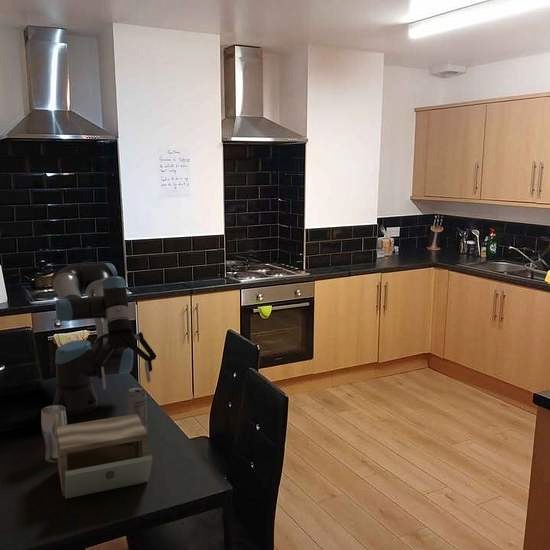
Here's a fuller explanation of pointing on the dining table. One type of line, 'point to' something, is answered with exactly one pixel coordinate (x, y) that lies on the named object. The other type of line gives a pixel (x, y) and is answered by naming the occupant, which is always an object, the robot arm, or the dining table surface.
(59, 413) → the beer glass
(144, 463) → the door
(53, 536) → the dining table surface
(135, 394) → the energy drink can
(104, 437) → the cabinet
